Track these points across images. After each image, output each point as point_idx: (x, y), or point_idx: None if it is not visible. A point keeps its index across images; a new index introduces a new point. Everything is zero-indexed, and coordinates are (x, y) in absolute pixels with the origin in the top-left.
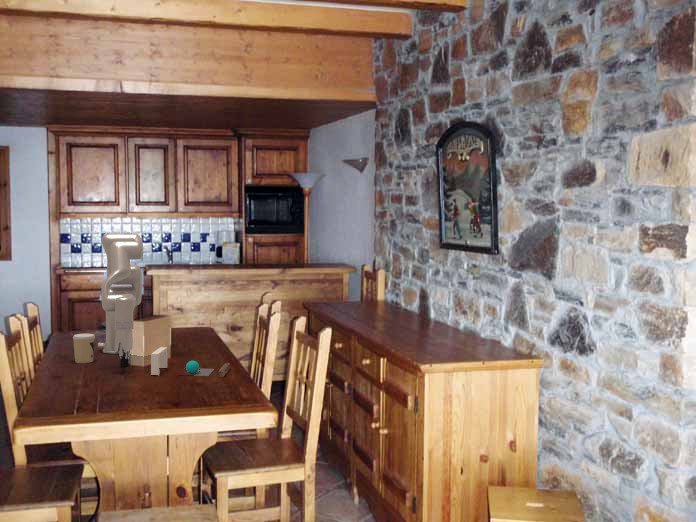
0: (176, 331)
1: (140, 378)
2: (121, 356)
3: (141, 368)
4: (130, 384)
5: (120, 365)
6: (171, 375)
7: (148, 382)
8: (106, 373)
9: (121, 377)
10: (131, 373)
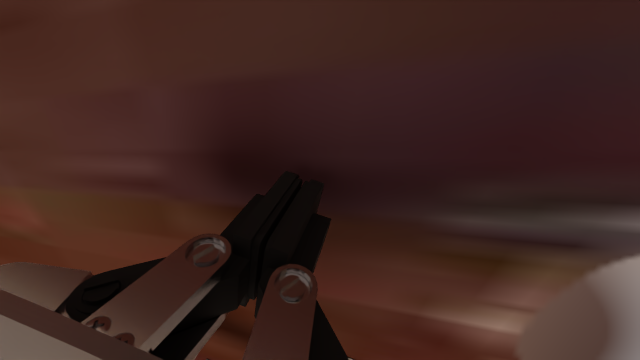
0: None
1: (129, 247)
2: (136, 277)
3: (379, 294)
4: (16, 195)
5: (277, 181)
6: (208, 347)
7: (80, 262)
8: (210, 11)
9: (116, 158)
10: (229, 222)
